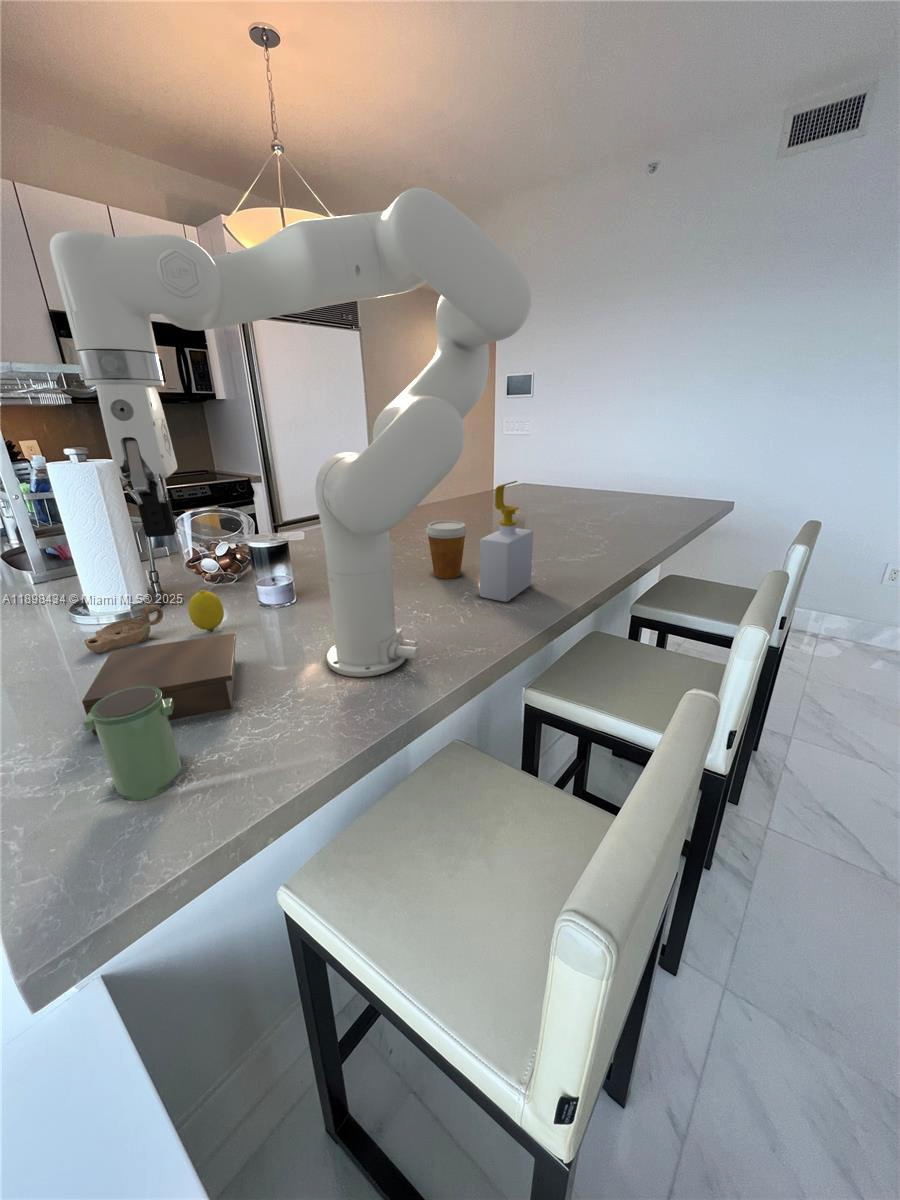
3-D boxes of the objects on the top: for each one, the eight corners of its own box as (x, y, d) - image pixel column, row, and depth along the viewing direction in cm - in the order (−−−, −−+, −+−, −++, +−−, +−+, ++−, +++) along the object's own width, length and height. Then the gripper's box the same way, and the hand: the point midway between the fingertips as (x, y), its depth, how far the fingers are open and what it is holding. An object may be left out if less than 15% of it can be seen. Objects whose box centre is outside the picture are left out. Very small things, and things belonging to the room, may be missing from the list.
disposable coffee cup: (422, 570, 119) (421, 522, 115) (459, 566, 122) (459, 519, 118) (433, 582, 111) (432, 531, 107) (472, 578, 114) (473, 527, 109)
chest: (236, 665, 77) (230, 638, 75) (232, 713, 65) (225, 681, 63) (121, 685, 72) (112, 656, 70) (95, 740, 60) (83, 707, 58)
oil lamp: (102, 663, 78) (93, 635, 76) (77, 653, 81) (68, 626, 79) (179, 632, 88) (172, 606, 87) (154, 624, 92) (147, 599, 90)
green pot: (192, 753, 57) (173, 679, 53) (185, 790, 52) (163, 710, 48) (117, 770, 55) (92, 693, 51) (102, 810, 49) (72, 727, 46)
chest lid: (236, 637, 75) (235, 632, 75) (232, 680, 63) (231, 675, 63) (112, 656, 70) (111, 651, 70) (83, 706, 58) (81, 701, 58)
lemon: (214, 639, 86) (205, 596, 83) (186, 636, 87) (177, 594, 84) (233, 626, 91) (225, 585, 88) (207, 624, 92) (198, 583, 89)
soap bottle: (506, 603, 99) (510, 486, 90) (478, 597, 102) (479, 483, 94) (531, 585, 108) (537, 478, 100) (504, 580, 112) (507, 476, 103)
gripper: (148, 367, 49) (188, 546, 55) (171, 376, 62) (200, 520, 68) (58, 366, 46) (111, 553, 53) (102, 375, 59) (139, 525, 66)
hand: (161, 534), depth 61 cm, fingers closed
